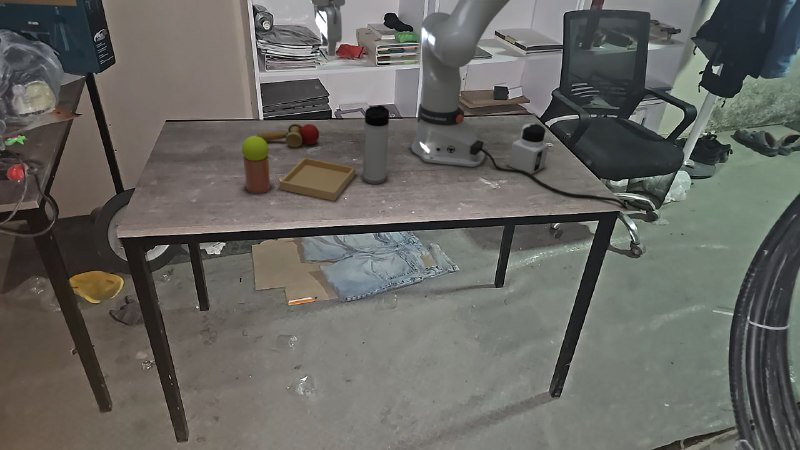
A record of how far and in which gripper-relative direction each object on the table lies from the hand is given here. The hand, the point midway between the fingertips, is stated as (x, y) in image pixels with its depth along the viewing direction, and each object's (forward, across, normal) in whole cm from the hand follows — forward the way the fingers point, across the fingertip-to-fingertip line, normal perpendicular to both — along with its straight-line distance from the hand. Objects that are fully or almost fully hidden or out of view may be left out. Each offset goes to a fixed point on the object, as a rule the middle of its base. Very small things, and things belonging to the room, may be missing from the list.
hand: (328, 50), depth 153 cm
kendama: (+29, +5, +11) cm, 32 cm away
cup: (+29, -21, +22) cm, 42 cm away
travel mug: (+29, -21, -9) cm, 37 cm away
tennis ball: (+18, -21, +22) cm, 36 cm away
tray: (+29, -21, +6) cm, 36 cm away
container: (+29, -21, -55) cm, 66 cm away
